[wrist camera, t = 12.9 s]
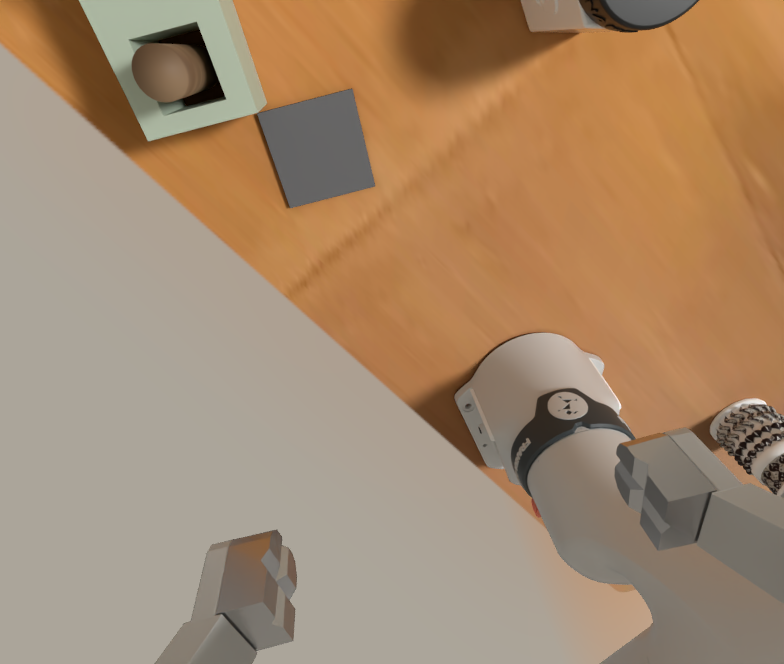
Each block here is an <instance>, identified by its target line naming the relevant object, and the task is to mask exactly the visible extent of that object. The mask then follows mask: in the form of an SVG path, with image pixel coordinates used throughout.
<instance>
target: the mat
mask: <svg viewBox="0 0 784 664" xmlns="http://www.w3.org/2000/svg"><path fill="white" fill-rule="evenodd" d="M257 115H258V118H259V121H260V124H261V126H262V129H263V132H264V135H265V138H266V141H267V144H268V146H269V149H270V152H271V155H272V158H273V161H274V163H275V166H276V169H277V172H278V175H279V178H280V180H281V183H282V186H283V189H284V192H285V195H286V198H287V200H288V203H289V206H290V208H293V207H297V206H301V205H305V204H309V203H312V202H316V201H320V200H324V199H328V198H332V197H336V196H340V195H343V194H347V193H351V192H355V191H359V190H363V189H367V188H371V187H374V186H375V183H374V179H373V174H372V170H371V166H370V162H369V158H368V153H367V149H366V145H365V141H364V136H363V132H362V128H361V124H360V119H359V115H358V111H357V107H356V102H355V98H354V94H353V90H352V89H348V90H344V91H340V92H337V93H333V94H329V95H325V96H321V97H317V98H314V99H310V100H306V101H302V102H298V103H295V104H291V105H287V106H283V107H279V108H275V109H272V110H268V111H264V112H260V113H257Z"/></svg>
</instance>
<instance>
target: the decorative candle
mask: <svg viewBox="0 0 784 664" xmlns="http://www.w3.org/2000/svg"><path fill="white" fill-rule="evenodd" d="M710 434H711V435H712V437H713V438H714V439H715V440H717V442H718V443H721V444H720V446H721V447H725V448H724V449H725V451H728V455H730V456H734V457H735V460H736V461H738V464H739V465H740V466H743V468H744V469H745V470H746V472H747V474H749V475H752V474H753V475H754V476H755V477H756V478H757V480H758V481H759V482H760V483H761V484H762V485H766V486H767V487H768V488H769V489H770V490H771V491H772V493H773V494H775V495H777V496H779V497H782V498H784V416H783V415H782V414H777V413H776V411H775V409H774V408H773V407H771V406H767V404H766V403H765V402H764V401H763V400H760V399H757V398H748V399H743V400H740V401H737V402H735V403H733V404H731V405H729V406H728V407H726V408H725V409H723V410H722V411H721V412H720V413H719V414H718V415H717V416H716V417H715V418H714V420H713V421H712V423H711V425H710ZM734 453H735V454H734Z"/></svg>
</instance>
